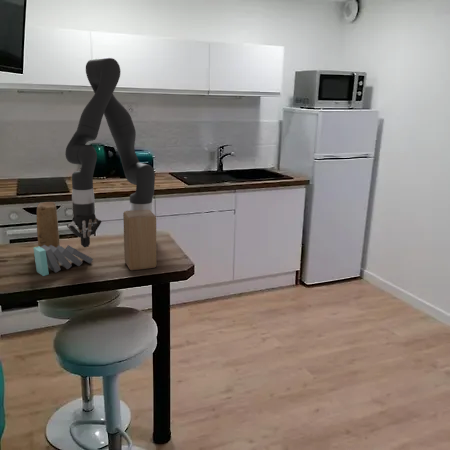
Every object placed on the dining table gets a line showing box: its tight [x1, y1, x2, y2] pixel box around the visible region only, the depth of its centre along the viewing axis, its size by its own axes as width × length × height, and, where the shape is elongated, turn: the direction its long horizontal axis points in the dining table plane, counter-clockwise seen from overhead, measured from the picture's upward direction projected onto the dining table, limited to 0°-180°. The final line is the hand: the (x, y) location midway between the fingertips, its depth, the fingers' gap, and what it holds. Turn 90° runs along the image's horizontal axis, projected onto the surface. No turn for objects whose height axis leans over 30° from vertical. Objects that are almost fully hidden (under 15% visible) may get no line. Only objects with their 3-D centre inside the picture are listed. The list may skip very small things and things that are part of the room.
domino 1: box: [33, 245, 50, 277], centre depth 154 cm, size 2×5×9 cm, turn 45°
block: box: [36, 201, 61, 248], centre depth 171 cm, size 11×8×20 cm
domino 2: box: [41, 245, 61, 274], centre depth 157 cm, size 2×5×9 cm, turn 45°
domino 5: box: [65, 244, 94, 264], centre depth 164 cm, size 2×5×9 cm
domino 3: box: [49, 245, 72, 270], centre depth 159 cm, size 2×5×9 cm
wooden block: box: [122, 209, 157, 271], centre depth 164 cm, size 10×10×20 cm
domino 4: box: [57, 245, 83, 267], centre depth 162 cm, size 2×5×9 cm
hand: (85, 246), depth 165 cm, fingers closed
